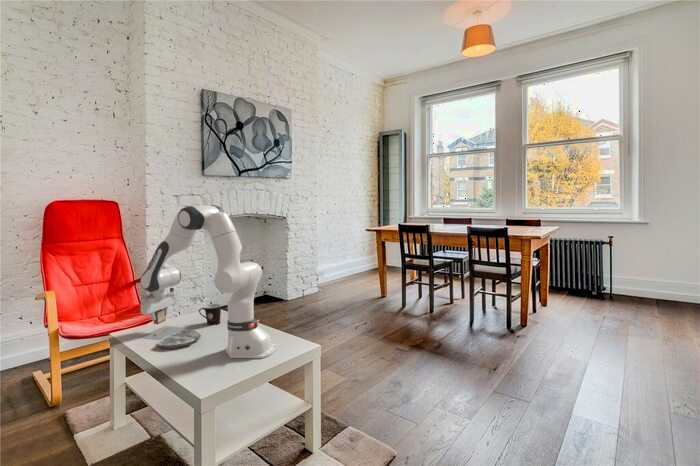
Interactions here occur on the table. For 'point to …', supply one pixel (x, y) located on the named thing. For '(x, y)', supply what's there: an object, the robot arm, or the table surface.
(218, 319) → the coffee mug
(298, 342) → the table surface
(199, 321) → the table surface
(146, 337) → the rubber mat
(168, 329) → the birch strip
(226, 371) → the table surface
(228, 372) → the table surface
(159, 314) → the walnut block
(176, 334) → the brain slice
